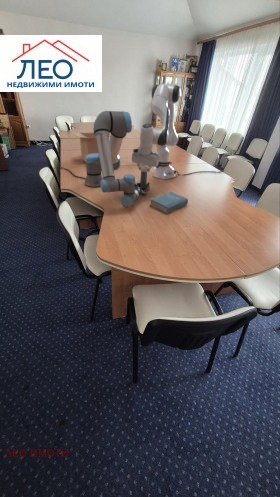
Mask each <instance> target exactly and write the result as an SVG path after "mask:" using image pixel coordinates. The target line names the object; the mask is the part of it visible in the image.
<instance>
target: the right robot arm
mask: <svg viewBox="0 0 280 497" xmlns="http://www.w3.org/2000/svg"><path fill="white" fill-rule="evenodd" d="M181 96H182V90H181V87H180V85H177V84H170V83H169V84H168V83H167V84H165V83H160V84H155V85H154V86H153V87H152V88H151V98H152V100H151V105H150V107H151V110H152V112H153V114H155V115H156V116H158V117H159V123H160V125H161V126H162V129H159V128H154V126H153V124H151V123H144V124H142V125H141V128H140V134H139V141H140V142H139V147H138V146H137V147H135V148H132V153H131V162H132V163H135V164H137V167H138V171H140V168H141V167H142V166H141V165H143V166H147V167H148V168H149V169H147V173H150V172H151V169H152V167H153V168H154V171H153V175H152V176H153V177H154V178H156V179H162V180H169V179H173V178H177V175H178V176H180V174H179V172H178V171H177V170H176V169H174V168H173V167H172V166H171V165H172V164H173V162H172V161H169V158H170V150H169V149H168V147H174V146H176V145H177V144H178V142H179V136H178V134H177V132H176V129H175V126H174V124H175V123H174V117H175V106H176V103H178V102H179V101H180V99H181ZM153 145H155V147H156V152H155V151H153ZM167 146H168V147H167ZM222 172H223V170H221V171H219V173H222ZM197 173H198V171H194V172H190V173H184V174H183V176H188V175H191V174H197ZM199 173H215V170H213V171H212V170H211V171H210V170H202V171H199ZM176 174H177V175H176Z"/></svg>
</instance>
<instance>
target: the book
mask: <svg viewBox="0 0 280 497" xmlns="http://www.w3.org/2000/svg"><path fill="white" fill-rule="evenodd" d="M149 201H150V204H149V207H151V208H154V209H155V210H157V211H159V212H161V213H164V214H168V213H171V212H173V211H175V210H178V209H180V208H182V207H185V206H186V205H188V202H189V198H188V197H184V196H182V195H180V194H177V193H175V192H172V191H169V192H166V193H164V194H161V195H158V196H156V197H152V198H150V199H149Z"/></svg>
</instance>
